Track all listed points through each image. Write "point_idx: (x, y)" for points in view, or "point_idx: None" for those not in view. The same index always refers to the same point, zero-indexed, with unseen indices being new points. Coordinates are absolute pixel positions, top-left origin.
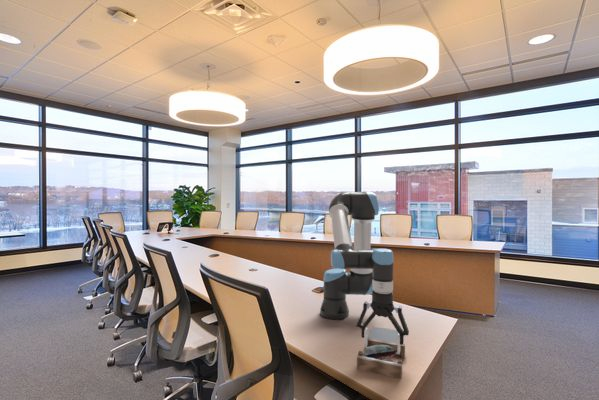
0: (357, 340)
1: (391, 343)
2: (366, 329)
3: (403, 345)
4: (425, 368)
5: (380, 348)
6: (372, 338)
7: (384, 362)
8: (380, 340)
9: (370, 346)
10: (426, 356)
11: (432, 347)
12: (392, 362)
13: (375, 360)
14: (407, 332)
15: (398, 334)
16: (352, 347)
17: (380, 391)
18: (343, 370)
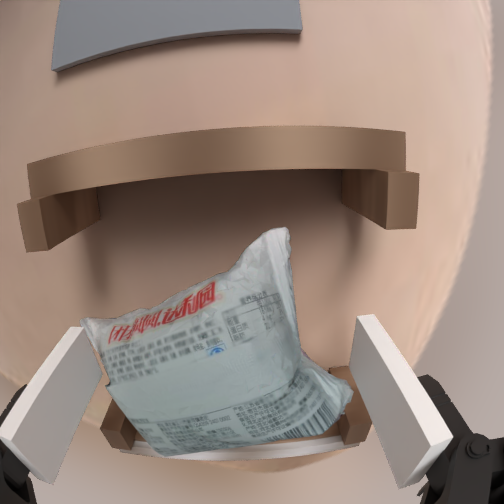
0: (13, 91)
1: (274, 152)
2: (33, 467)
3: (408, 215)
4: (460, 258)
5: (224, 447)
6: (87, 12)
7: (269, 456)
8: (146, 2)
9: (132, 404)
10: (471, 111)
11: (471, 3)
12: (313, 447)
13: (218, 459)
14: (498, 486)
15: (420, 465)
16: (13, 204)
17: (267, 469)
18: (100, 420)
